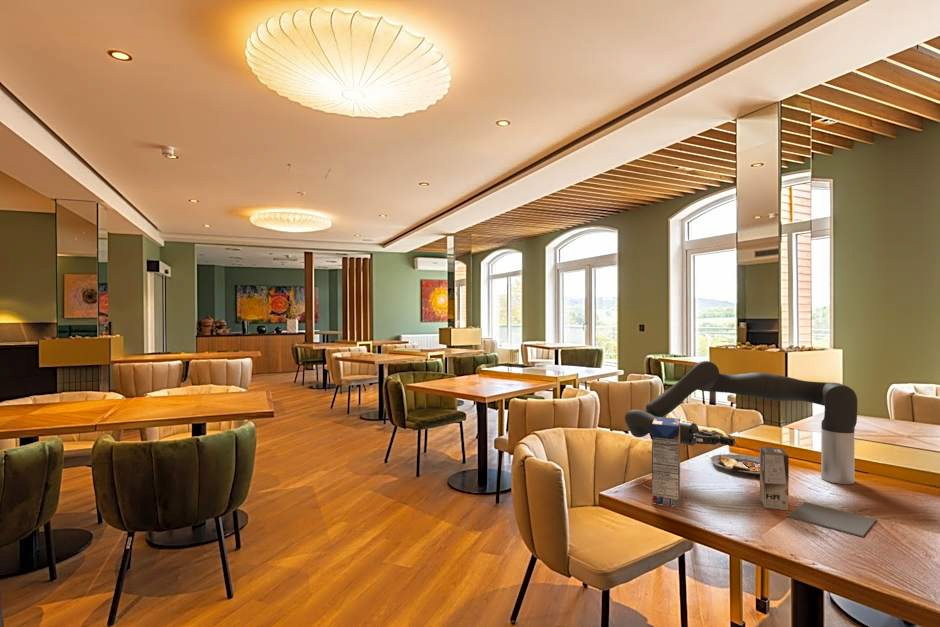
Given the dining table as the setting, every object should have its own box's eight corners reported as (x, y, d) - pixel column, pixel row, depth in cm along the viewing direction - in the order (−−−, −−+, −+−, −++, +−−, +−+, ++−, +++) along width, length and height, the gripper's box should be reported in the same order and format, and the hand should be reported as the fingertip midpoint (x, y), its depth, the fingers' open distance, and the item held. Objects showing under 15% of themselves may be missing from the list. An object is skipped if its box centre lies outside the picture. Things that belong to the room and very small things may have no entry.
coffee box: (789, 511, 146) (789, 455, 146) (764, 508, 148) (764, 453, 148) (782, 500, 154) (782, 447, 154) (758, 497, 156) (758, 445, 156)
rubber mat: (804, 503, 152) (804, 501, 152) (876, 520, 139) (876, 519, 139) (787, 517, 141) (787, 515, 141) (863, 537, 128) (863, 535, 128)
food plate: (793, 481, 171) (793, 471, 171) (718, 476, 178) (718, 465, 178) (771, 463, 195) (771, 453, 195) (706, 458, 202) (706, 449, 202)
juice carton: (654, 491, 161) (654, 416, 161) (679, 494, 158) (680, 418, 158) (651, 504, 150) (652, 423, 150) (678, 508, 147) (679, 426, 147)
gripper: (671, 423, 168) (725, 433, 155) (689, 418, 177) (742, 427, 164) (671, 446, 168) (725, 458, 155) (689, 439, 177) (741, 450, 164)
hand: (733, 442), depth 159 cm, fingers closed
